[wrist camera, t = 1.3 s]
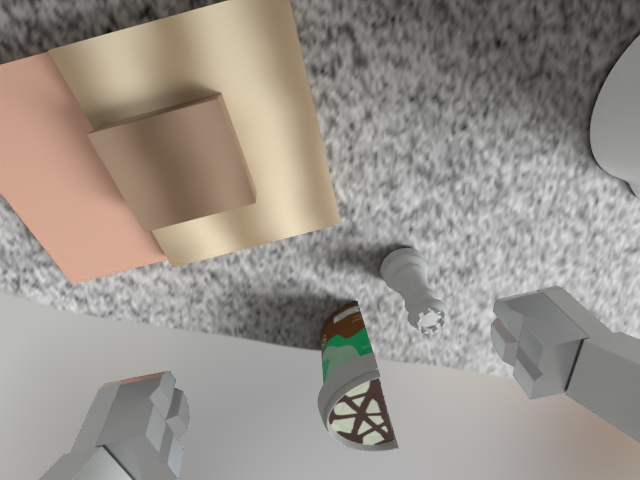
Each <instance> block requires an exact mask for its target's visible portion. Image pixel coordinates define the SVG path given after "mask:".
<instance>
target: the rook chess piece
mask: <svg viewBox="0 0 640 480" xmlns="http://www.w3.org/2000/svg"><path fill="white" fill-rule="evenodd" d="M381 275H382V277H383V279H384V281H385V282H386V284H387V286H388V287H390V288H391V289H393V290H394V291H396V292H398V293H400V295H401V296H402V297H403V299H404V300H405V308H406V310H407V311H408V312H409V314H408V321H409V323H410V325H412V326H414V327H415V328H417V329H418V331H419V330H421V331H422V333H424V334H428V332H429V331H428V329H432V331H433V333H435V332H437V331H439V329H438V327H437V326H438V325H441V326H443V327H444V326H445V324H446V323H447V322H446V321H445V319H446V318H447V317H446V311H447V307H446V305H445V303H443V302H442V301H440V300H438V299H437V296H436V294H435V292H433V291H432V290H430V288H429V285H428V282H427V275H428V265H427V263H426V261H425V259H424V257H423V255H422V253H420V252H419V251H418V250H416V249H411V248H402V249H397V250H395V251H393V252H391V253H390V254H389V255H388V256H387V257H386V258H385V259H384V261H383V263H382V265H381Z"/></svg>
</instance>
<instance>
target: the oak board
mask: <svg viewBox="0 0 640 480" xmlns="http://www.w3.org/2000/svg"><path fill="white" fill-rule="evenodd" d="M49 52H50V54H51V56H52V57H53V59H54V61H55V63H56V64H57V66H58V68H59V70H60V71H61V73H62V75H63V77H64V78H65V80H66V82H67V84H68V85H69V87H70V89H71V91H72V92H73V94H74V96H75V98H76V99H77V101H78V103H79V105H80V106H81V108H82V110H83V112H84V113H85V115H86V117H87V119H88V120H89V122H90V124H91V126H92V127H93V129H96V128H97V127H99V126H100V125H104V124H108V123H112V122H115V121H119V120H123V119H126V118H130V117H134V116H137V115H141V114H145V113H148V112H152V111H156V110H160V109H163V108H167V107H171V106H174V105H178V104H182V103H185V102H189V101H193V100H196V99H200V98H204V97H208V96H211V95H215V94H219V93H222V96H223V99H224V102H225V104H226V107H227V110H228V113H229V116H230V118H231V121H232V124H233V127H234V129H235V132H236V135H237V138H238V141H239V143H240V146H241V149H242V152H243V155H244V157H245V160H246V163H247V166H248V169H249V171H250V174H251V177H252V180H253V182H254V185H255V188H256V191H257V193H256V203H255V204H251V205H247V206H244V207H240V208H236V209H232V210H228V211H224V212H221V213H217V214H213V215H209V216H205V217H202V218H198V219H194V220H190V221H186V222H183V223H179V224H175V225H171V226H167V227H164V228H160V229H156V230H152V232H153V234H154V236H155V238H156V239H157V241H158V243H159V245H160V246H161V248H162V250H163V252H164V253H165V255H166V257H167V259H168V260H169V262H170V264H171V266H172V267H177V266H181V265H185V264H188V263H192V262H196V261H200V260H204V259H208V258H212V257H215V256H219V255H223V254H227V253H231V252H235V251H239V250H242V249H246V248H250V247H254V246H258V245H262V244H265V243H269V242H273V241H277V240H281V239H285V238H289V237H292V236H296V235H300V234H304V233H308V232H312V231H316V230H319V229H323V228H327V227H331V226H335V225H339V224H341V221H340V216H339V212H338V207H337V203H336V199H335V194H334V190H333V186H332V181H331V177H330V173H329V168H328V164H327V160H326V155H325V151H324V147H323V142H322V138H321V134H320V129H319V125H318V120H317V116H316V112H315V107H314V103H313V99H312V94H311V90H310V86H309V81H308V77H307V73H306V68H305V64H304V60H303V55H302V51H301V47H300V42H299V38H298V33H297V29H296V25H295V20H294V16H293V12H292V7H291V3H290V0H227V1H224V2H220V3H216V4H213V5H209V6H205V7H202V8H198V9H195V10H191V11H187V12H184V13H180V14H177V15H173V16H169V17H166V18H162V19H159V20H155V21H151V22H148V23H144V24H141V25H137V26H133V27H130V28H126V29H122V30H119V31H115V32H112V33H108V34H104V35H101V36H97V37H94V38H90V39H86V40H83V41H79V42H76V43H72V44H68V45H65V46H61V47H57V48H54V49H50V50H49Z"/></svg>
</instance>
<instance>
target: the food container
mask: <svg viewBox="0 0 640 480" xmlns="http://www.w3.org/2000/svg"><path fill="white" fill-rule="evenodd" d="M321 351H322V366H323V383H324V384H323V386H322V388H321V390H320V392H319V396H318V408H319V412H320V414H321V417H322V420H323V422H324V425H325V427H326V429H327V430H328V432H329V433H330V435H331V436H332V438H333V439H334V440H335V441H336V442H338V443H339V444H341V445H343V446H345V447H347V448H350V449H354V450H359V451H367V452H380V451H388V450H393V449H398V445H397V441H396V438H395V435H394V431H393V427H392V424H391V421H390V417H389V414H388V410H387V406H386V404H385V400H384V396H383V393H382V389H381V383H380V381H379V378H380V374H379V370H378V367H377V363H376V360H375V356H374V353H373V351H372V347H371V344H370V341H369V338H368V334H367V331H366V328H365V325H364V321H363V318H362V315H361V312H360V308H359V305H358V302H357V301H355V302H353V303H350V304H347V305H345V306H343V307H342V308H340V309H338V310H337V311H335V312H334V313H333V314H332V315H331V316H330V317H329V318H328V319H327V320H326V321H325V323H324V326H323V328H322V330H321Z"/></svg>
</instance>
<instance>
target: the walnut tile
mask: <svg viewBox="0 0 640 480" xmlns="http://www.w3.org/2000/svg"><path fill="white" fill-rule="evenodd" d="M87 136H88V138H89V139H90V141H91V143H92V144H93V146H94V148H95V149H96V151H97V153H98V155H99V156H100V158H101V160H102V161H103V163H104V165H105V167H106V168H107V170H108V172H109V173H110V175H111V177H112V178H113V180H114V182H115V184H116V185H117V187H118V189H119V190H120V192H121V194H122V195H123V197H124V199H125V201H126V202H127V204H128V206H129V207H130V209H131V211H132V213H133V214H134V216H135V218H136V219H137V221H138V223H139V224H140V226H141V228H142V230H143V231H144V233H145V232H148V231H152V230H156V229H160V228H164V227H167V226H171V225H175V224H179V223H183V222H186V221H190V220H194V219H198V218H202V217H205V216H209V215H213V214H217V213H221V212H224V211H228V210H232V209H236V208H240V207H244V206H247V205H251V204H255V203H256V193H257V191H256V188H255V185H254V182H253V180H252V177H251V174H250V171H249V169H248V166H247V163H246V160H245V157H244V155H243V152H242V149H241V146H240V143H239V141H238V138H237V135H236V132H235V129H234V127H233V124H232V121H231V118H230V116H229V113H228V110H227V107H226V104H225V102H224V99H223V96H222V93H219V94H215V95H211V96H208V97H204V98H200V99H196V100H193V101H189V102H185V103H182V104H178V105H174V106H171V107H167V108H163V109H160V110H156V111H152V112H148V113H145V114H141V115H137V116H134V117H130V118H126V119H123V120H119V121H115V122H112V123H108V124H104V125H100V126H99V127H97V128H96V129H94V130H93V131H91V132H90V133H88V134H87Z"/></svg>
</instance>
